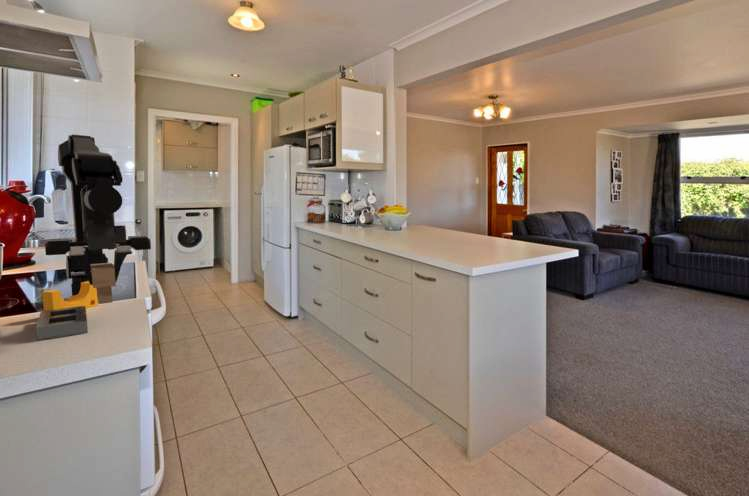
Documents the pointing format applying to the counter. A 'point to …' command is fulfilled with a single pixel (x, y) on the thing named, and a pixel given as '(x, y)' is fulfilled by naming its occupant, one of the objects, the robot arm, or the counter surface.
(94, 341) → the counter surface
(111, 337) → the counter surface
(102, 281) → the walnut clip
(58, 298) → the pipe clamp
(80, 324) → the rail plate
